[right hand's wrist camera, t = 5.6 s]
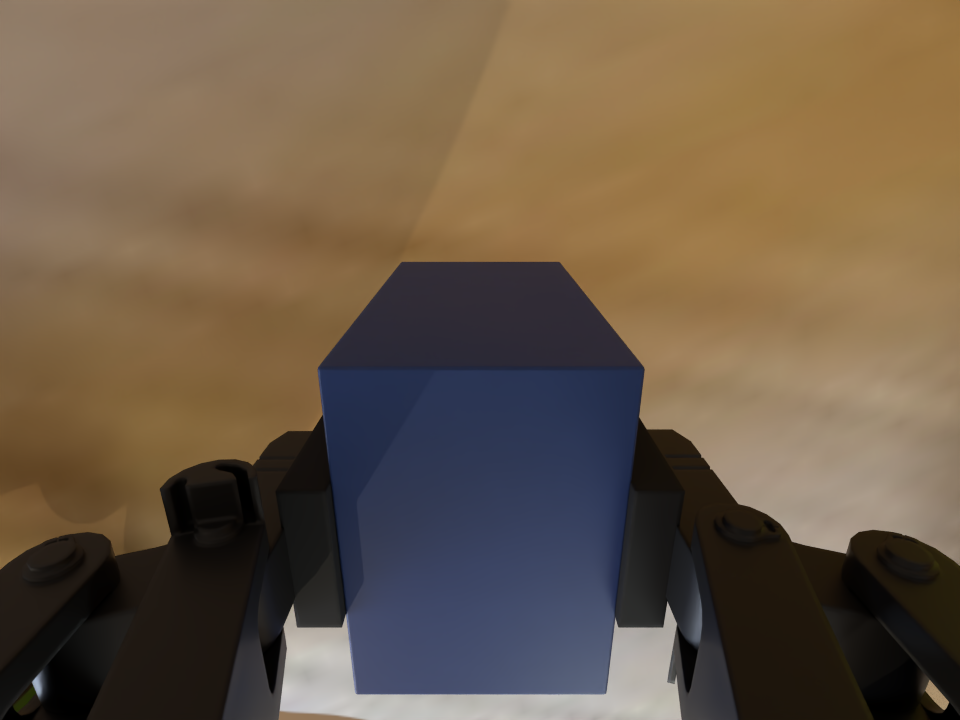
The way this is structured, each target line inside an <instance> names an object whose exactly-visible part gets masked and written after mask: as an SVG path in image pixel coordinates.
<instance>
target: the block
mask: <svg viewBox="0 0 960 720" xmlns="http://www.w3.org/2000/svg"><path fill="white" fill-rule="evenodd" d="M644 370H645V369H644V367H643V365H642V364H641V363H640V362H639V360H638V359H637V358H636V357H635V355H634V354H633V353H632V352H631V350H630V349H629V348H628V347H627V345H626V344H625V343H624V342H623V340H622V339H621V338H620V337H619V335H618V334H617V333H616V332H615V331H614V329H613V328H612V327H611V326H610V324H609V323H608V322H607V321H606V319H605V318H604V317H603V316H602V314H601V313H600V312H599V311H598V309H597V308H596V307H595V306H594V304H593V303H592V302H591V301H590V299H589V298H588V297H587V296H586V294H585V293H584V292H583V291H582V289H581V288H580V287H579V286H578V284H577V283H576V282H575V281H574V279H573V278H572V277H571V276H570V274H569V273H568V272H567V271H566V269H565V268H564V267H563V266H562V265H561V263H560V262H401V263H400V265H399V266H398V267H397V268H396V270H395V271H394V272H393V274H392V275H391V276H390V277H389V279H388V280H387V281H386V282H385V284H384V285H383V286H382V287H381V289H380V290H379V291H378V292H377V294H376V295H375V296H374V298H373V299H372V300H371V301H370V303H369V304H368V305H367V306H366V308H365V309H364V310H363V311H362V313H361V314H360V315H359V316H358V318H357V319H356V320H355V322H354V323H353V324H352V325H351V327H350V328H349V329H348V330H347V332H346V333H345V334H344V335H343V337H342V338H341V339H340V340H339V342H338V343H337V344H336V346H335V347H334V348H333V349H332V351H331V352H330V353H329V354H328V356H327V357H326V358H325V359H324V361H323V362H322V363H321V364H320V366H319V367H318V377H319V385H320V394H321V402H322V411H323V419H324V428H325V437H326V445H327V454H328V462H329V471H330V479H331V488H332V497H333V505H334V514H335V522H336V531H337V539H338V548H339V557H340V565H341V574H342V582H343V591H344V599H345V608H346V617H347V625H348V634H349V643H350V651H351V660H352V668H353V677H354V685H355V693H356V694H606V691H607V683H608V675H609V666H610V658H611V649H612V641H613V633H614V624H615V609H616V601H617V592H618V584H619V575H620V567H621V558H622V550H623V541H624V533H625V524H626V516H627V507H628V499H629V490H630V482H631V480H632V472H633V463H634V455H635V446H636V438H637V430H638V421H639V413H640V404H641V396H642V387H643V379H644Z"/></svg>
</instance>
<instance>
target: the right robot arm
mask: <svg viewBox="0 0 960 720" xmlns="http://www.w3.org/2000/svg"><path fill="white" fill-rule="evenodd" d="M160 492H161V496H162V500H163V504H164V508H165V512H166V516H167V520H168V524H169V528H170V532H171V538H170V540H169V542H168V544H167V545H164V546H160V547H156V548H152V549H147V550H142V551H137V552H132V553H127V554H122V555H118V556H115V554H114V551H113V548H112V545H111V541H110V540H109V539H107V538H106V537H105V536H104V535H103V534H96V533H90V532H86V533H77V534H69V535H64V536H60V537H59V538H57V537H56V538H53V539H50V540H47V541H45V542H43V543H42V544H40V545H37V546H35V547H33V548H31V549H29V550H27V551H25V552H24V553H22V554H21V555H19V556H18V557H16V558H15V559H13V560H12V561H11V562H9V563H8V564H7V565H5V566H4V567H3V568H2V569H1V570H0V720H278V719H279V710H280V702H281V693H282V685H283V676H284V668H285V659H286V651H287V647H286V639H285V633H284V627H283V626H284V623H285V621H286V619H287V616H288V614H289V612H290V609H291V607H292V605H293V604H294V611H295V617H296V623H297V627H342V625H343V622H344V618H345V615H346V608H345V599H344V591H343V582H342V574H341V565H340V557H339V548H338V539H337V531H336V522H335V514H334V505H333V497H332V488H331V479H330V471H329V462H328V454H327V445H326V437H325V428H324V419H323V415H322V417H321V419H320V420H319V422H318V423H317V425H316V427H315V428H314V430H313V431H288V432H286V433H285V434H283V435H282V436H280V437H279V438H277V439H275V440H274V441H272V442H271V443H270V444H269V445H268V446H267V448H266V449H265V450H264V452H263V453H262V454H261V456H260V459H259V460H257V461H256V462H255V464H254V465H253V466H252V465H251V464H250V463H248V462H244V461H240V460H236V459H234V460H216V461H211V462H206V463H201V464H198V465H196V466H193V467H190V468H188V469H185V470H183V471H181V472H179V473H178V474H176V475H175V476H173V477H171V478H170V479H168V480H167V482H166V483H165V484H164V485H163V486H162V487H161V488H160ZM667 601H668V603H669V606H670V608H671V610H672V613H673V615H674V617H675V620H676V622H677V627H676V633H675V639H674V645H673V650H672V656H671V662H670V668H669V674H668V681H667V682H668V683H673V684H675V678H676V675H677V683H678V692H679V700H680V709H681V717H682V720H960V566H959V565H958V564H957V563H955V562H954V561H953V560H952V559H950V558H949V557H947V556H946V555H944V554H943V553H941V552H940V551H938V550H937V549H935V548H933V547H931V546H929V545H927V544H925V543H923V542H920V541H919V540H917V539H915V538H912V537H909V536H906V535H905V536H904V535H902V534H899V533H894V532H887V531H878V530H869V531H863V532H858V533H857V534H856V535H854V536H853V537H852V538H851V539H850V543H849V546H848V549H847V553H846V554H844V553H840V552H835V551H830V550H825V549H820V548H815V547H810V546H805V545H802V544H798V543H794V542H792V541H791V539H790V537H789V535H788V534H787V532H786V531H785V530H784V528H783V527H782V526H781V524H779V523H778V522H777V521H775V520H774V519H772V518H771V517H770V516H768V515H767V514H765V513H762V512H760V511H758V510H756V509H753V508H751V507H748V506H744V505H739V504H738V503H737V502H736V501H735V499H734V498H733V497H732V495H731V494H730V493H729V491H728V490H727V489H726V487H725V486H724V485H723V483H722V482H721V481H720V479H719V478H718V477H717V475H716V474H715V473H714V471H713V470H710V466H709V465H708V464H707V462H706V461H705V460H704V458H701V454H700V453H699V452H698V450H697V449H696V448H695V446H694V445H693V444H692V442H691V441H689V440H688V439H686V438H685V437H683V436H682V435H680V434H678V433H677V432H675V431H674V430H647V429H646V428H645V426H644V424H643V423H642V421H641V420H640V418H639V421H638V430H637V438H636V446H635V455H634V463H633V472H632V480H631V482H630V490H629V499H628V507H627V516H626V524H625V533H624V541H623V550H622V558H621V567H620V575H619V584H618V592H617V601H616V609H615V617H616V621H617V624H618V627H663V625H664V619H665V613H666V607H667ZM929 680H931V682H932V683H933V684H934V685H935V686H936V687H937V688H938V690H939V691H940V692H941V693H942V694H943V695H944V696H945V698H946V699H947V700H948V701H949V704H948V706H947V708H946V709H945V710H943V709H942V708H940V707H939V706H938V705H937V704H936V703H935V702H934V701H933V700H932V698H931V697H930V696H929V695H928V694H927V692H926V691H925V689H926V687H927V685H928V682H929ZM31 683H33V686H34V688H35V691H36V694H35V695H34V696H33V697H32V698H31V700H30V701H29V702H28V703H27V704H26V705H25V706H24V707H23V708H22V709H20V710H19V711H18V712H16V711H15V710H14V707H13V703H14V702H15V701H16V700H17V699H18V698H19V696H20V695H21V694H22V693H23V692H24V691H25V689H26V688H27V687H28V686H29V685H30V684H31Z"/></svg>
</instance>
